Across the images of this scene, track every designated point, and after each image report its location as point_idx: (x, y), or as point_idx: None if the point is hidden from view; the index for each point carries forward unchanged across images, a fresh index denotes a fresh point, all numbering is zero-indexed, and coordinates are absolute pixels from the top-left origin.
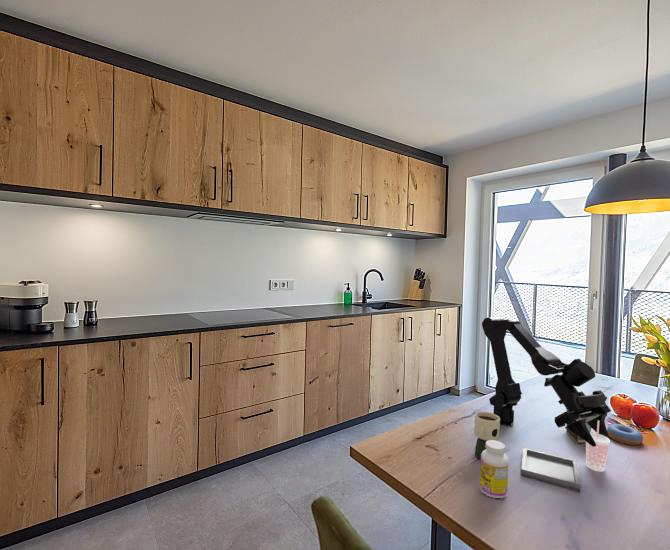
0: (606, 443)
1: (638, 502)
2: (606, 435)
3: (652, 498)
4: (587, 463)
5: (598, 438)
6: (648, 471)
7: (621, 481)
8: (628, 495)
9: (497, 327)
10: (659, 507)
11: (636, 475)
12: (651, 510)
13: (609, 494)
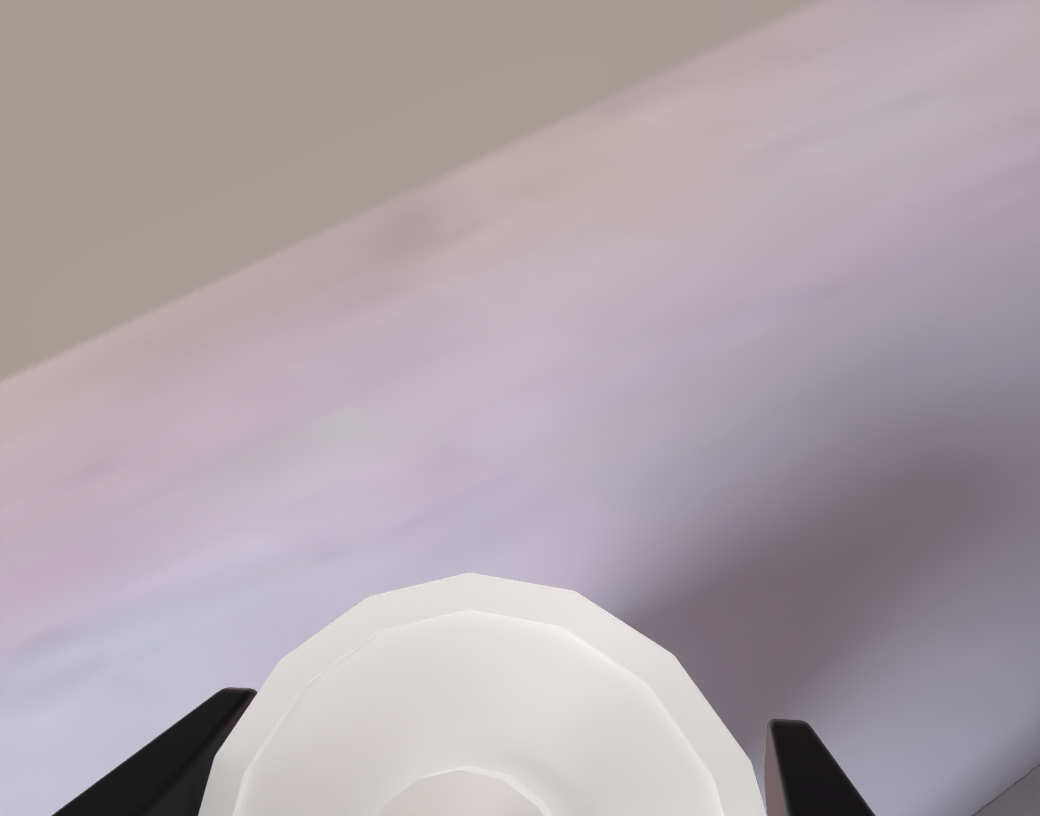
0: (548, 587)
1: (810, 180)
2: (174, 790)
3: (600, 180)
4: None
5: (544, 809)
6: (91, 457)
7: (573, 453)
8: (785, 276)
9: None
10: (694, 89)
11: (286, 460)
12: (820, 81)
13: (990, 352)
